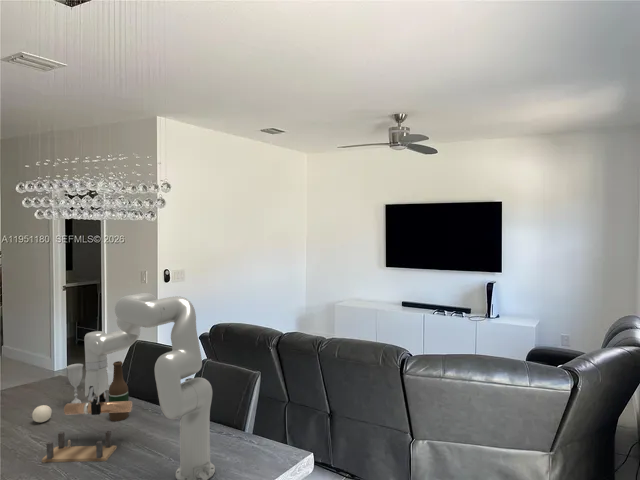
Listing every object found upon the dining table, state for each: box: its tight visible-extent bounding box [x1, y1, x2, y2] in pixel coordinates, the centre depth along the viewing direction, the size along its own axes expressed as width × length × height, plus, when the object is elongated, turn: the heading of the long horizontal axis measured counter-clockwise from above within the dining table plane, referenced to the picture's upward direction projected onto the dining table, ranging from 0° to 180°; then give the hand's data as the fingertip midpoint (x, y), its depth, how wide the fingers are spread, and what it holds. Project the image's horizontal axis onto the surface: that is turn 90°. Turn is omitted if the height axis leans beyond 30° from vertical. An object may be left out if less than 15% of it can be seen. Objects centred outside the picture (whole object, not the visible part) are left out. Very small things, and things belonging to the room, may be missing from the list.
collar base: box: [41, 430, 117, 463], centre depth 165 cm, size 22×9×6 cm, turn 92°
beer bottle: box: [108, 360, 130, 422], centre depth 195 cm, size 8×8×24 cm
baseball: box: [31, 404, 53, 423], centre depth 192 cm, size 7×7×7 cm
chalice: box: [66, 363, 84, 403], centre depth 209 cm, size 7×7×18 cm
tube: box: [63, 400, 133, 416], centre depth 176 cm, size 24×4×4 cm, turn 92°
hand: (98, 411), depth 176 cm, fingers closed on tube, 4 cm apart
